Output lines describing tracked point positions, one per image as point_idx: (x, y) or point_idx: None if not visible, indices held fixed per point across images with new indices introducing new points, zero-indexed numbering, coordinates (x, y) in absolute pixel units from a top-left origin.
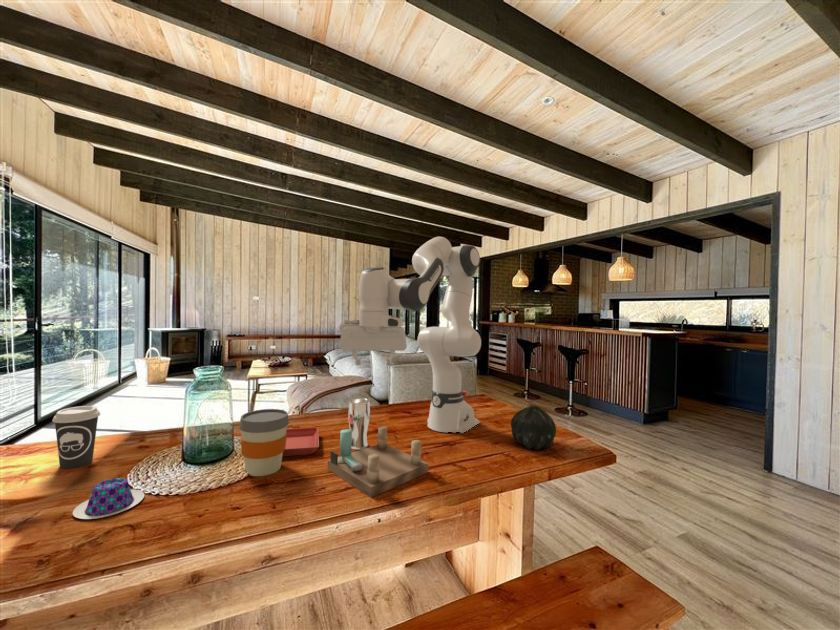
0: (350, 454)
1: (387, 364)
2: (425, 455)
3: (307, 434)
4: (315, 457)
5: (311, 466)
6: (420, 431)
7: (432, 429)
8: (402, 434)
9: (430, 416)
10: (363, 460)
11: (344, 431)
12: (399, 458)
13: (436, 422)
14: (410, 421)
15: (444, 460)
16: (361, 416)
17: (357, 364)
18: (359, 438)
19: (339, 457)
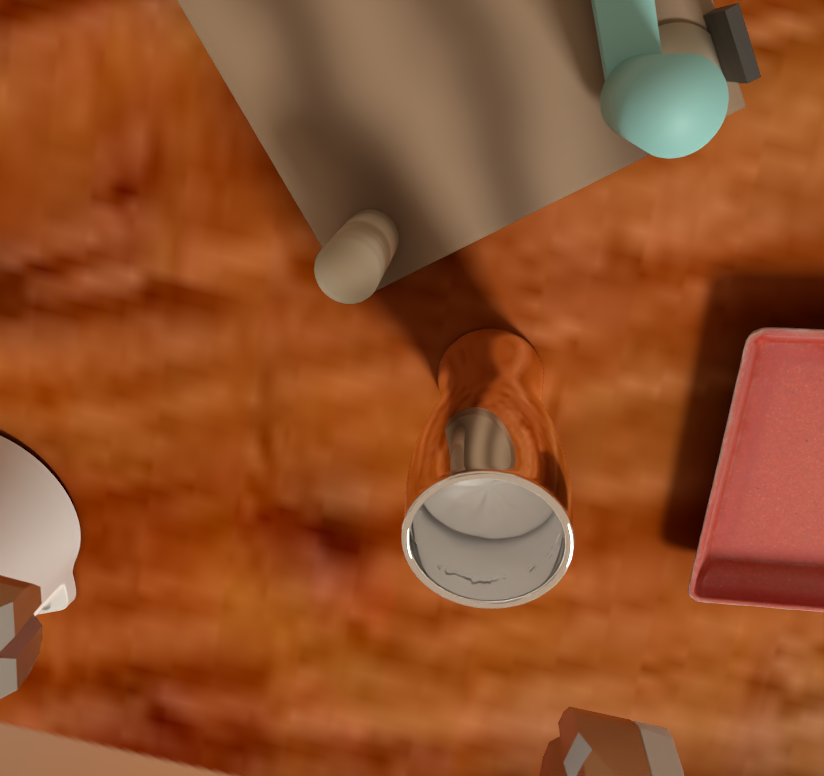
0: (610, 73)
1: (12, 580)
2: (132, 161)
3: (740, 568)
4: (757, 285)
5: (810, 165)
6: (126, 482)
7: (57, 482)
8: (226, 468)
9: (32, 561)
10: (523, 46)
11: (692, 105)
12: (290, 25)
13: (10, 496)
14: (164, 614)
15: (29, 62)
16: (484, 411)
17: (636, 725)
18: (492, 359)
19: None
